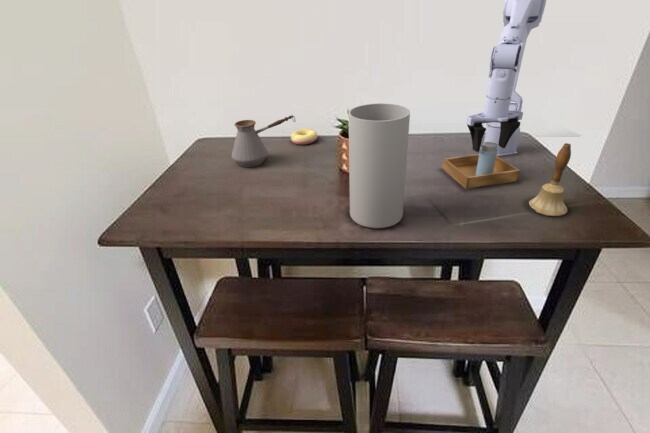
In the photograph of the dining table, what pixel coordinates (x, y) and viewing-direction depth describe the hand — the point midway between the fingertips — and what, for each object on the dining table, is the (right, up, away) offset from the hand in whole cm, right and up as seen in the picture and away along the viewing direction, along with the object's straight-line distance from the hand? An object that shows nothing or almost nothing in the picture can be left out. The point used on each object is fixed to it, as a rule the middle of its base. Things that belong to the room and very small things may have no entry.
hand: (488, 148), depth 102 cm
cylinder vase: (-31, -18, -10) cm, 38 cm away
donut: (-51, +9, +36) cm, 63 cm away
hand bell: (+9, -16, -11) cm, 21 cm away
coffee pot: (-63, -1, +21) cm, 66 cm away
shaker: (0, -7, +4) cm, 8 cm away
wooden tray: (-1, -7, +5) cm, 9 cm away
